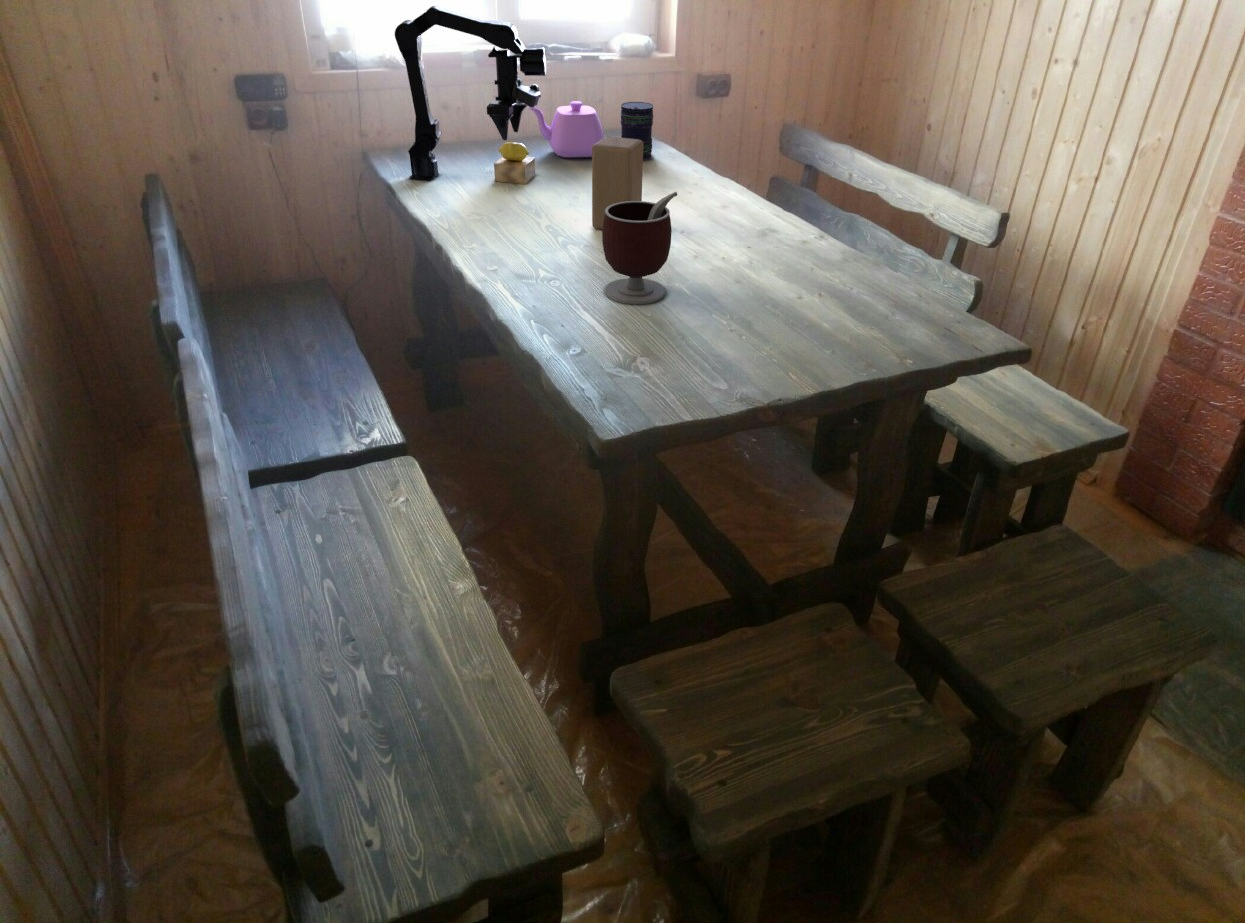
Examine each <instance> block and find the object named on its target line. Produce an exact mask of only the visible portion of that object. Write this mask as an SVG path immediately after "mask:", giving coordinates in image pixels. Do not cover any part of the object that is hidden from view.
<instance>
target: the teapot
mask: <svg viewBox="0 0 1245 923" xmlns="http://www.w3.org/2000/svg"><path fill="white" fill-rule="evenodd" d="M527 108H528V109H530V110H531V111H532V112H533V113H534V114H535V116H536V118H537V123H538V128H539V131H540V134H541V135H542V137H543V138H544V139H545V140H546V141H549V142H548V143H549V146H550V147H551V149H552V151H553V152H554V154H556V155H557V156H559V157H561V158H563V159H571V158H584V157H585V158H592V147H593V145H594V144H596V143H597V142H599V141H600V140H602V139H603V138H604V132H603V127H602V124H601V120H600V118H599V116H598V113H597V111H596V110H595V108H593V107H592V106H590V105H583V102H582V101H579V100H573V101H570V102H569V105H560V106H558V107H557V108H556V111H555V112H554V115H553V119H552V122H551V125H550V126H549V125H548V124H547V123H546V121H545V116H544V113H543V111H542V110H541V109H540V108H538V107H535V106H534V107H533V108H532V107H529V106H527Z"/></svg>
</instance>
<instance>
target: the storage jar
mask: <svg viewBox="0 0 1245 923" xmlns="http://www.w3.org/2000/svg"><path fill="white" fill-rule="evenodd" d="M620 125H621V126H620V127H621V129H620V130H621V131H620V132H621V133H620V135H621V136H620V138H629V139H638V140H641V141H643V162H644V161H648V160H651V159H652V157H653V156H652V150H653V138H652V135H653V134H652V132H653V130H652V129H653V125H654V104H652V103H650V102H644V101H628V102H627V101H626V102H623V103H621V104H620Z"/></svg>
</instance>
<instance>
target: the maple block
mask: <svg viewBox="0 0 1245 923" xmlns="http://www.w3.org/2000/svg"><path fill="white" fill-rule="evenodd" d="M493 170H494V181H495V182H496V183H497V182H499V183H508V184H509V183H510V184H519V185H520V184H521V185H526V184H528V182H529V181H531V180H532V179H533V178H534V177H535V176H536V158H535V157H534V156H526V158H525V159H524V160H522V161H511V160H506V159H504V158H503V157H502V156H501V157H500V158H499V159H497V160H496V161H495V162H493Z"/></svg>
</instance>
